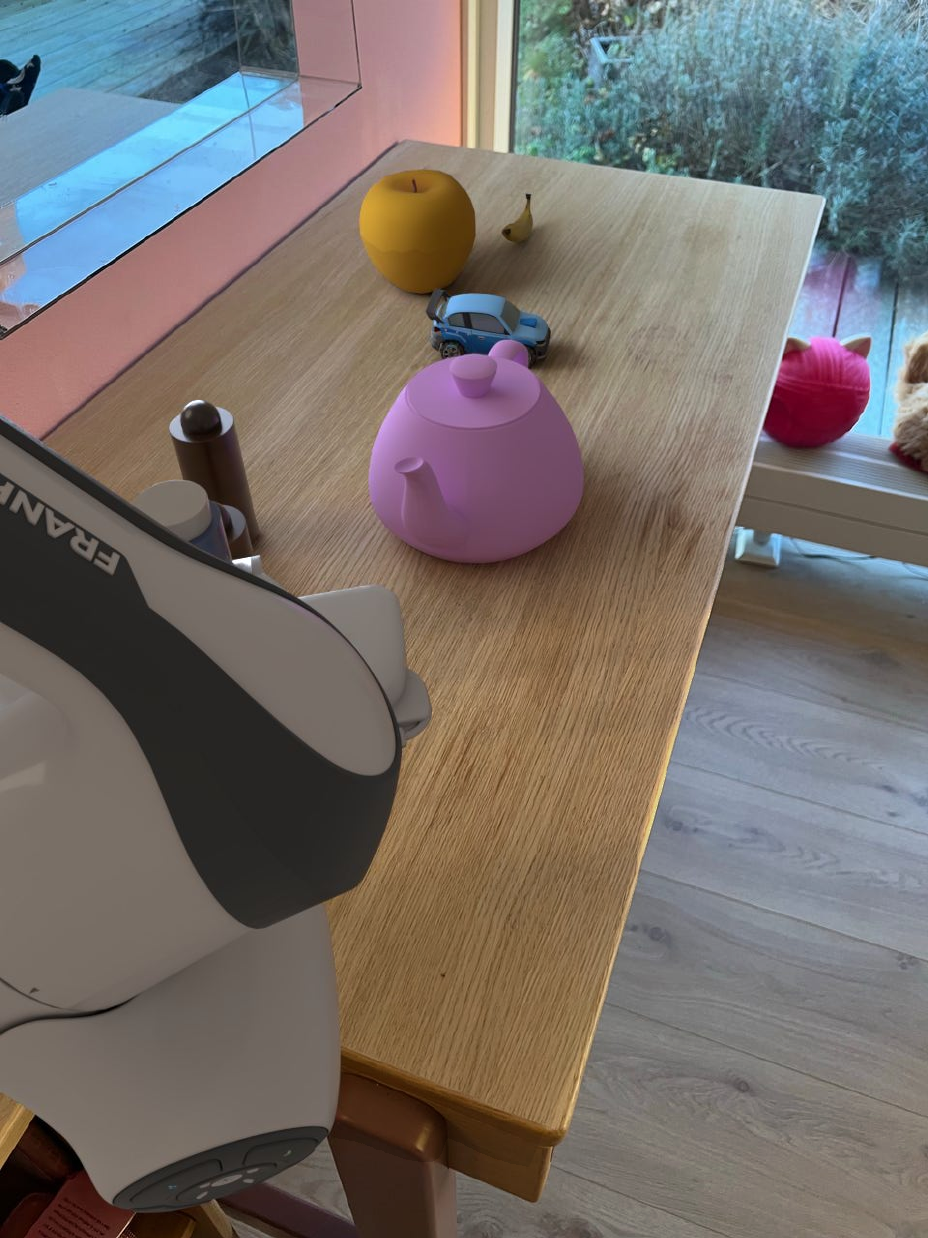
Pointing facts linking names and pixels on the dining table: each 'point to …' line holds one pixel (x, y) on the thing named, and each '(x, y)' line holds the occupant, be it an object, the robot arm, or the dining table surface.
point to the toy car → (484, 325)
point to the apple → (418, 229)
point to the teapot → (476, 460)
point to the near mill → (236, 532)
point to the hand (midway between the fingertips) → (193, 575)
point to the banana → (520, 225)
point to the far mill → (213, 457)
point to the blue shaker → (187, 515)
